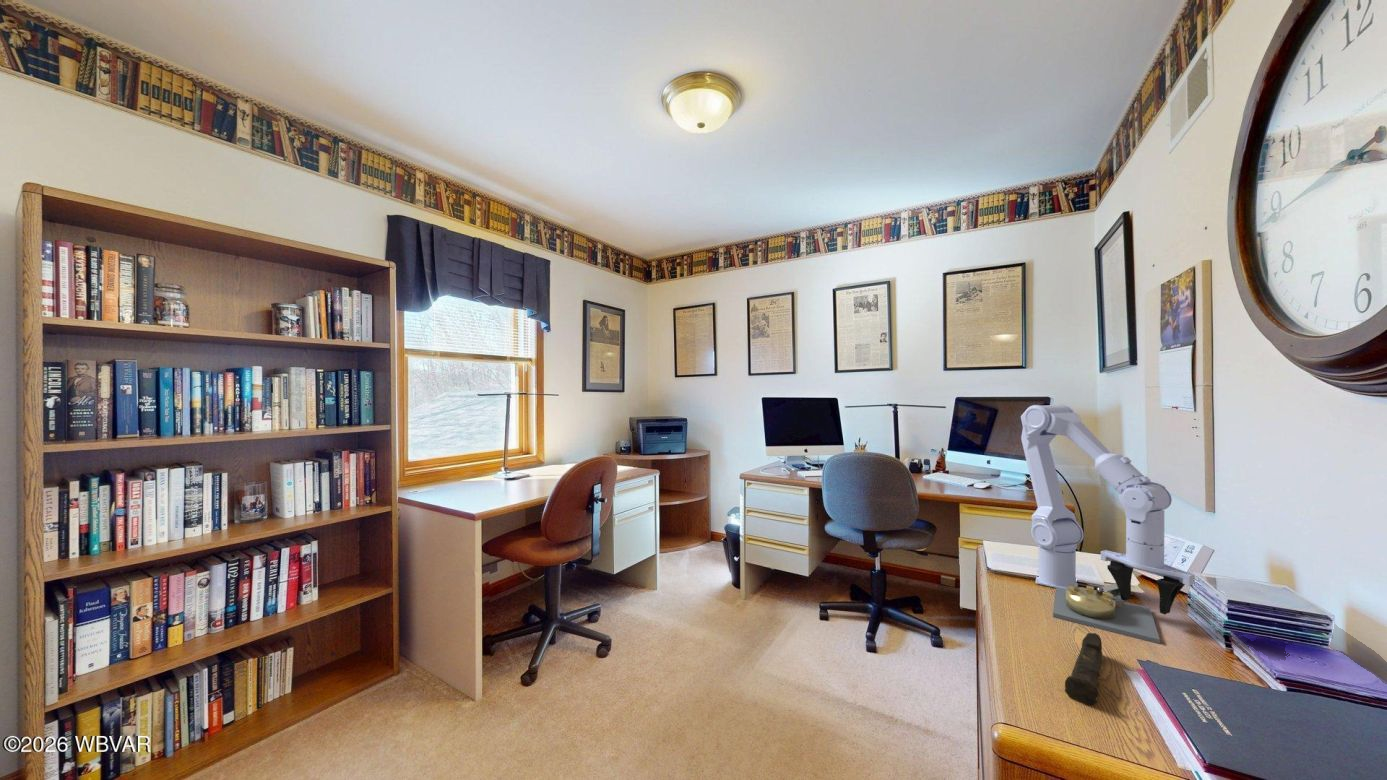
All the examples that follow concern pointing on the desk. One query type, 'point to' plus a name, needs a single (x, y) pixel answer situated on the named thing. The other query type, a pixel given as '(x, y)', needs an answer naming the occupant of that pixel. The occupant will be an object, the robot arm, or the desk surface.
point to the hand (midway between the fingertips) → (1144, 605)
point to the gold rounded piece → (1094, 600)
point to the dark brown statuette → (1086, 671)
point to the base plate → (1125, 622)
